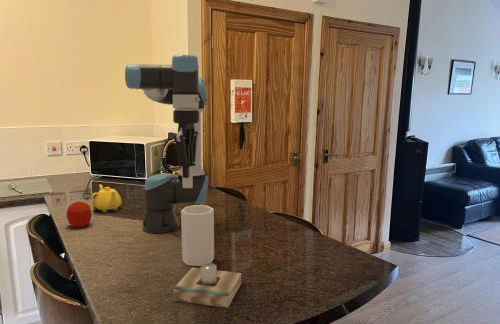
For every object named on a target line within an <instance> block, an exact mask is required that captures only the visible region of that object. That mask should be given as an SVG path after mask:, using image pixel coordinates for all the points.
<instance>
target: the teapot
mask: <svg viewBox="0 0 500 324" xmlns="http://www.w3.org/2000/svg"><path fill="white" fill-rule="evenodd" d="M98 186H99V191H98V192H94V193H92V194H91V201H92V202H91V203H90V207H93V208H94V207H95V208H96V209H98V211H99V210H100V211H102V213H104V214H105V213H108V211H110V210H113V211H119V209H118V208H119V207H120V206H121V205H122V203H123V202H122V197H121V195H120V194H119V192H118V191H117V190H116V189H114V188H111V187H110V186H106V187H104V186H103V185H102V184H98ZM95 195H96V196H95ZM94 196H95V198H94Z"/></svg>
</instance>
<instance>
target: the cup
mask: <svg viewBox="0 0 500 324" xmlns="http://www.w3.org/2000/svg"><path fill="white" fill-rule="evenodd" d="M180 212H181V213H180V218H181V219H180V220H181V224H180V227H181V260H182V262H183V263H184V264H185V265H187V266H189V267H190V266H191V267H201V265H203V264H206V263H213V261H214V259H215V218H214V217H215V209H214V208H213V207H211V206H209V205H205V204H204V205H202V204H193V205H189V206H185V207H184V208H183V209H181V211H180Z"/></svg>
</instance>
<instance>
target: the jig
mask: <svg viewBox="0 0 500 324" xmlns="http://www.w3.org/2000/svg"><path fill="white" fill-rule="evenodd" d="M241 284H242V273H241V272H234V271H227V270H226V271H225V270H217V284H216V286H215V287H214V286H206V285H201V267H194V266H191V268H190V269H189V270H188V271H187V273H185V275H184V276H183V277H182V278H181V279H180V280H179V281H178V283H177V284H176V285H174V286H173V289H172V290H173V291H172V292H173V301H176V302H184V303H190V304H197V305H202V306H203V305H204V306H211V307H217V308H226V309H229V307H230V306H231V303H232V301H233V299H234V298H235V295H236V294H237V292H238V290H239V289H240V287H241Z"/></svg>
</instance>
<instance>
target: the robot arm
mask: <svg viewBox="0 0 500 324" xmlns="http://www.w3.org/2000/svg"><path fill="white" fill-rule="evenodd" d="M199 68H200V66H199V59H198V56H196V55H192V54H176V55H173V56H172V58H171V64H145V63H143V64H141V63H133V64H129V63H128V64H127V65H126V66H125V68H124V79H125V85H126V87H127V88H128V89H130V90H131V89H132V90H141V91H143V93H144V95H145V96H146V98H148V99H149V100H151V101H153V102H156V103H159V104H162V105H163V104H164V105H168V106H169V105H170V106H171V105H172V108H173V109H174V110H173V111H172V114H173V115H172V119H173V120H172V121H173V123H174V124H177V125H178V126H177V134H173V140H174V141H175V149H176V156H177V163H178V167H179V168H180V170H179V171H178V172H177V177H176V176H175V177H174V174H173V173H170V172H169V173H167V172H165V173H159V174H154V175H150V176H149V177H147V178H146V179H145V182H144V183H145V184H144V191H145V193H144V196H145V214H144V218H143V221H142V225H141V226H142V230H143V232H145V233H149V234H163V233H164V234H165V233H170V232H173V231H175V230H177V229H178V228H179V220H178V218H177V215H176V212H175V210H174V205H187V204H188V205H189V204H190V205H191V204H193V205H197V204H203V203H205V202H206V200H207V195H208V190H209V189H208V188H209V176H207V175H206V172H205V171H204V170H203V169H202V127H201V126H202V124H201V121H202V118H201V117H202V115H201V114H202V112H203V111H204V110H205V106H207V105H208V95H207V89H206V83H205V79H204V78H203V77H202V76H199Z"/></svg>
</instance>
